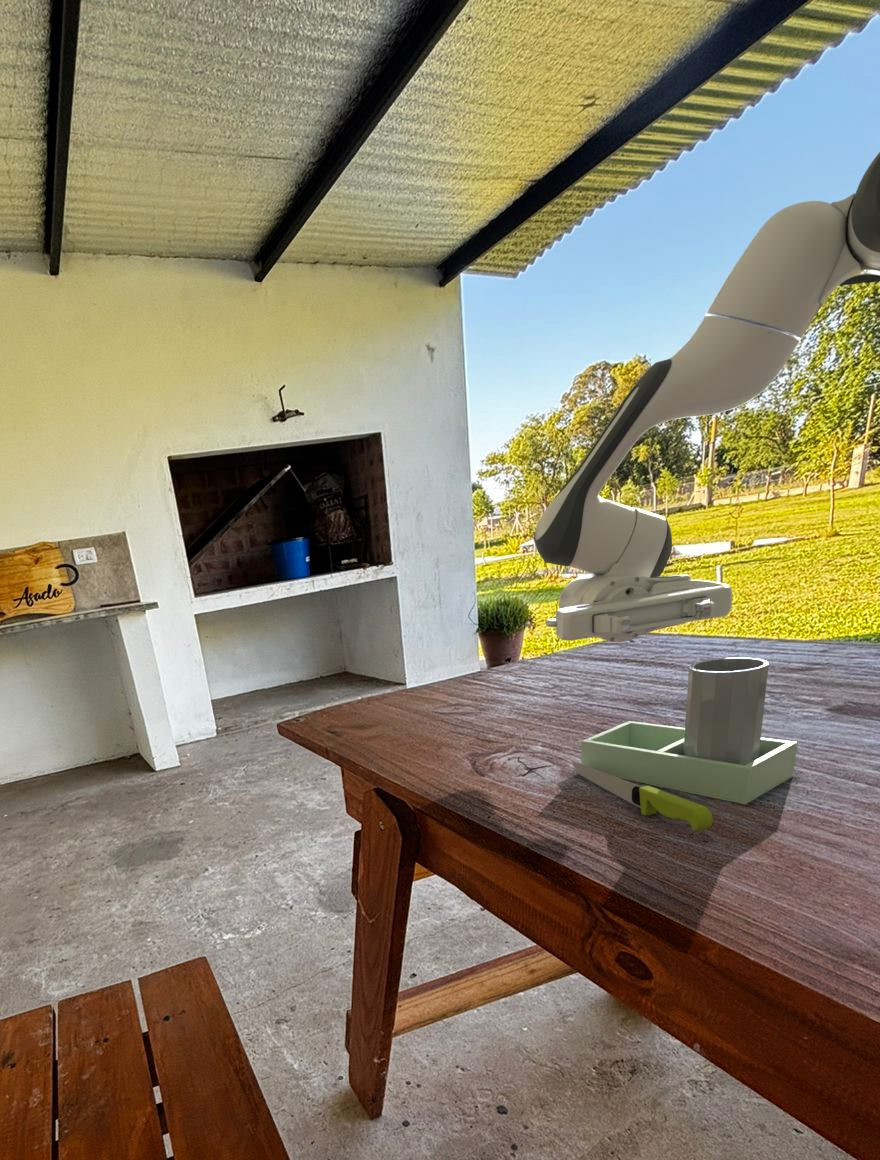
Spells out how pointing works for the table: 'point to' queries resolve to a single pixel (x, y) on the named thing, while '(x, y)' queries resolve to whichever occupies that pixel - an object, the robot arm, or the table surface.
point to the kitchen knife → (650, 798)
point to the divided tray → (685, 762)
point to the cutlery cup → (725, 709)
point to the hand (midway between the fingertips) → (665, 618)
